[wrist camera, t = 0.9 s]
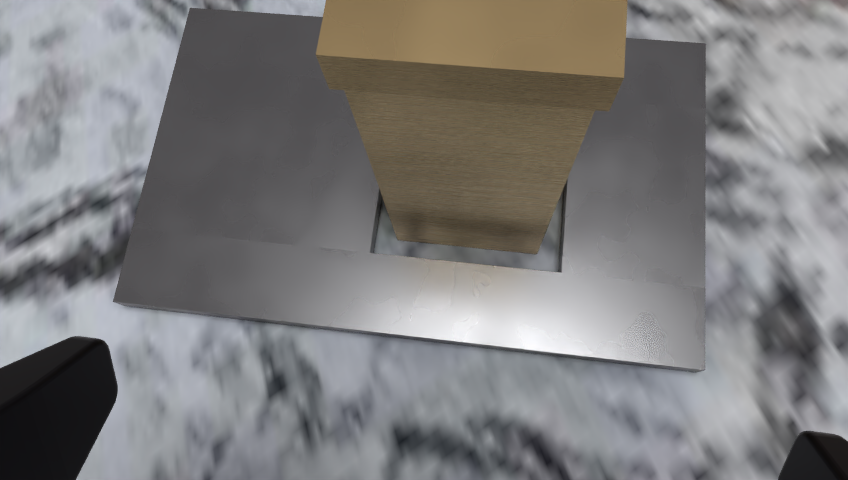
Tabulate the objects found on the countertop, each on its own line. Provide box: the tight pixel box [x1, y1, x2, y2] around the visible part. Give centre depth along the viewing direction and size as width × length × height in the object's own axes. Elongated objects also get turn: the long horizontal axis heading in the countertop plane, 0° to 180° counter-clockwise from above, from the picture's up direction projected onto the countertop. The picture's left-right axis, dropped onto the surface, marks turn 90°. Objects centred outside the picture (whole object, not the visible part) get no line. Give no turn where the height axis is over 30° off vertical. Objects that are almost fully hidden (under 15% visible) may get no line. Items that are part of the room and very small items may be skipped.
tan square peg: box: [316, 0, 627, 254], centre depth 18 cm, size 5×5×12 cm
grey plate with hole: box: [113, 8, 706, 372], centre depth 23 cm, size 12×20×1 cm, turn 83°
